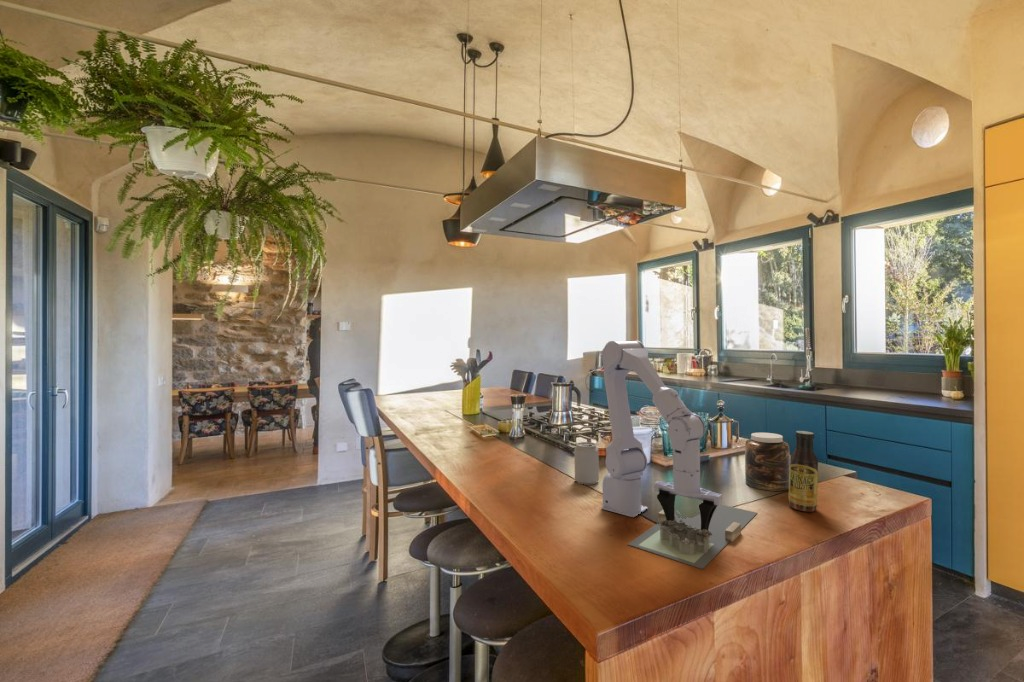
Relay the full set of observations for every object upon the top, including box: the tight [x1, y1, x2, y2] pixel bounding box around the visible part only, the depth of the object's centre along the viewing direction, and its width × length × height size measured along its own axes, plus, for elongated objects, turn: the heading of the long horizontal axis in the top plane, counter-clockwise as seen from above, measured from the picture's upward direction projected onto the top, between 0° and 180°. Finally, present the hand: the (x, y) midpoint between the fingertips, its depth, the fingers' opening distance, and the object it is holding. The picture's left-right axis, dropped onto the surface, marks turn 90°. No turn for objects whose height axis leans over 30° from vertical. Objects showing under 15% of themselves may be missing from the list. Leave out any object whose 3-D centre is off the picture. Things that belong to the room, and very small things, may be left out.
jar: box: [744, 432, 791, 492], centre depth 137 cm, size 12×12×15 cm
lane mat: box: [627, 503, 758, 570], centre depth 107 cm, size 16×37×1 cm, turn 137°
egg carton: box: [657, 519, 712, 555], centre depth 99 cm, size 11×8×4 cm
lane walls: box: [657, 509, 742, 543], centre depth 107 cm, size 17×6×2 cm, turn 47°
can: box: [573, 441, 600, 486], centre depth 143 cm, size 8×8×12 cm
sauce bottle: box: [788, 430, 819, 513], centre depth 118 cm, size 7×6×20 cm
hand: (687, 529), depth 103 cm, fingers open, 7 cm apart
